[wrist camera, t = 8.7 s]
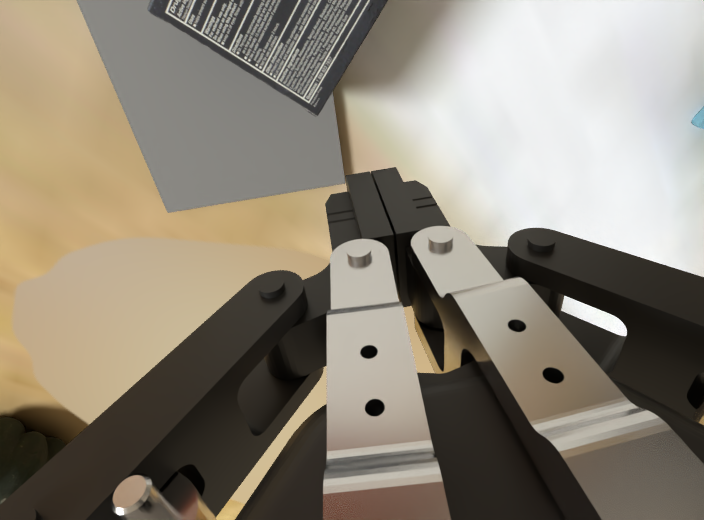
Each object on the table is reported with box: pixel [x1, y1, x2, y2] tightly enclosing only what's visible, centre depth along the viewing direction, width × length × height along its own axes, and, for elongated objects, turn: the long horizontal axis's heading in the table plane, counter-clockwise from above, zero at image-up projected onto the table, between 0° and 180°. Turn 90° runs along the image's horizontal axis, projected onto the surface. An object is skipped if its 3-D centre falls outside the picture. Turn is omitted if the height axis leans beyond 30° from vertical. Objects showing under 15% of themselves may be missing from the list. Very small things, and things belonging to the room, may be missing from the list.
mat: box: [77, 0, 345, 213], centre depth 30 cm, size 15×20×1 cm
